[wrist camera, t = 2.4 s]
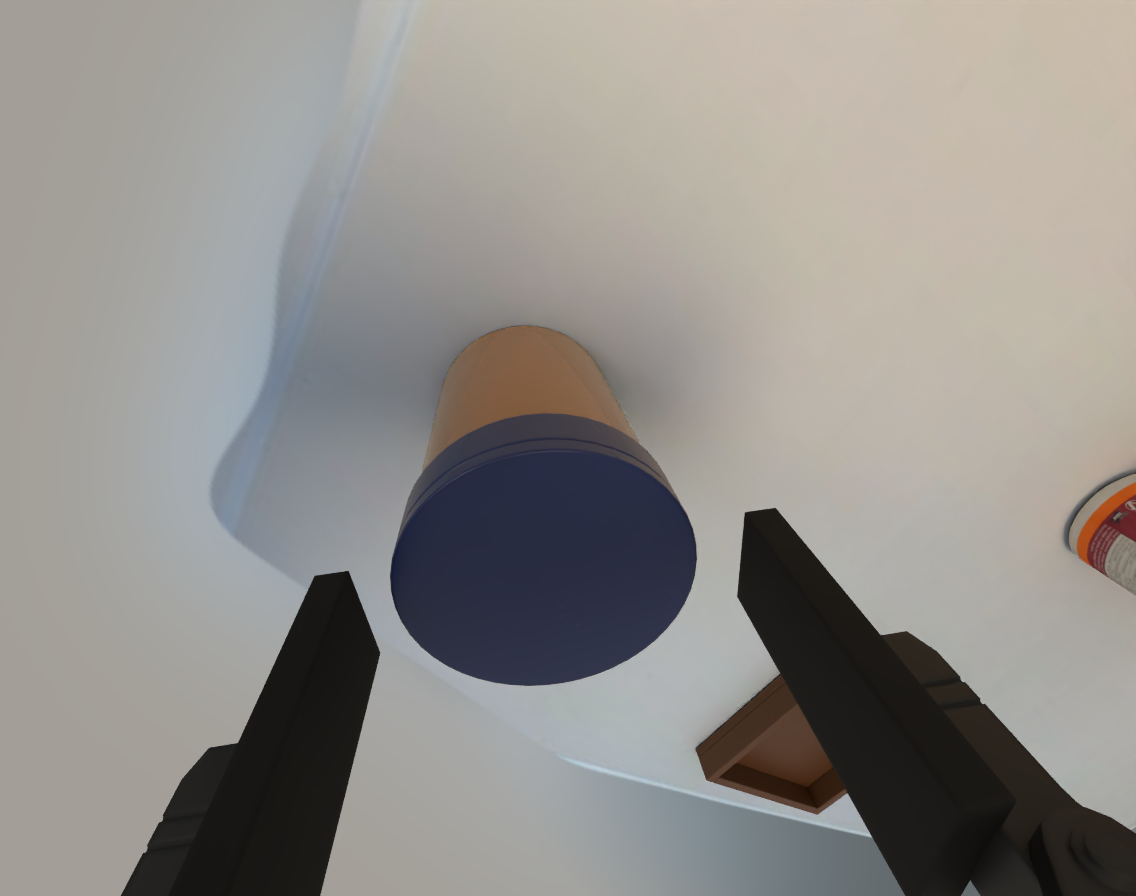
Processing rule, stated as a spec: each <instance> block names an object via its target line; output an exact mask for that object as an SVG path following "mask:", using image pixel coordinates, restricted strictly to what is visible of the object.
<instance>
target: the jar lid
mask: <svg viewBox="0 0 1136 896" xmlns="http://www.w3.org/2000/svg"><path fill="white" fill-rule="evenodd" d="M696 562H697V553H696V541H695V536H694V532H693V528H692V526H691V523H690V521H689V518H688V516H687V514H686V512H685V510H684V508H683V506H682V505H681V503H680V501H679V499H678V498H677V496H676V494H675V492H674V490H673V489H672V487H671V485H670V483H669V482H668V480H667V478H666V476H665V475H664V473H663V471H662V470H661V468H660V466H659V465H658V463H657V462H656V461H655V459H654V458H653V457H652V456H651V455H650V454H649V453H648V451H647V450H646V449H644V448H643V447H642V446H641V445H640V444H639V443H637V442H636V441H635V440H634V439H632V438H631V437H629V436H628V435H626V434H624V433H623V432H621V431H620V430H618V429H615V428H613V427H611V426H609V425H607V424H604V423H602V422H599V421H595V420H592V419H589V418H585V417H580V416H574V415H568V414H554V413H540V414H527V415H521V416H516V417H511V418H505V419H502V420H499V421H496V422H493V423H490V424H487V425H485V426H483V427H480V428H478V429H476V430H474V431H472V432H470V433H468V434H466V435H464V436H463V437H461V438H460V439H458V440H457V441H455V442H453V443H452V444H451V445H449V446H448V447H447V448H446V449H445V450H443V451H442V452H441V453H440V454H439V455H437V456H436V457H435V459H434V460H433V461H432V462H431V463H430V464H429V465H428V466H427V467H426V468H425V470H424V471H423V473H422V474H421V476H420V477H419V479H418V480H417V482H416V483H415V485H414V487H413V489H412V491H411V494H410V496H409V498H408V501H407V504H406V508H405V511H404V515H403V519H402V523H401V526H400V530H399V534H398V538H397V542H396V546H395V549H394V553H393V557H392V563H391V572H390V581H391V593H392V596H393V600H394V604H395V608H396V610H397V612H398V615H399V617H400V619H401V621H402V623H403V625H404V626H405V628H406V629H407V631H408V632H409V634H410V635H411V636H412V637H413V638H414V640H415V641H416V642H417V643H418V644H419V645H420V646H421V647H422V648H423V649H424V650H425V651H427V652H428V653H429V654H430V655H431V656H433V657H434V658H436V659H437V660H439V661H440V662H442V663H443V664H445V665H447V666H449V667H451V668H453V669H455V670H457V671H459V672H461V673H464V674H466V675H469V676H472V677H475V678H478V679H482V680H486V681H490V682H494V683H501V684H508V685H523V686H535V685H550V684H558V683H565V682H570V681H574V680H579V679H583V678H586V677H589V676H592V675H596V674H598V673H601V672H603V671H606V670H608V669H611V668H613V667H615V666H617V665H619V664H621V663H623V662H625V661H627V660H628V659H630V658H632V657H633V656H635V655H636V654H638V653H639V652H641V651H642V650H644V649H645V648H646V647H647V646H649V645H650V644H651V643H652V642H654V641H655V640H656V639H657V638H658V637H659V636H660V635H661V634H662V633H663V632H664V631H665V630H666V629H667V628H668V627H669V625H670V624H671V623H672V622H673V620H674V619H675V618H676V617H677V615H678V613H679V612H680V610H681V608H682V607H683V605H684V604H685V601H686V599H687V597H688V595H689V592H690V590H691V587H692V584H693V580H694V576H695V570H696Z"/></svg>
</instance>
